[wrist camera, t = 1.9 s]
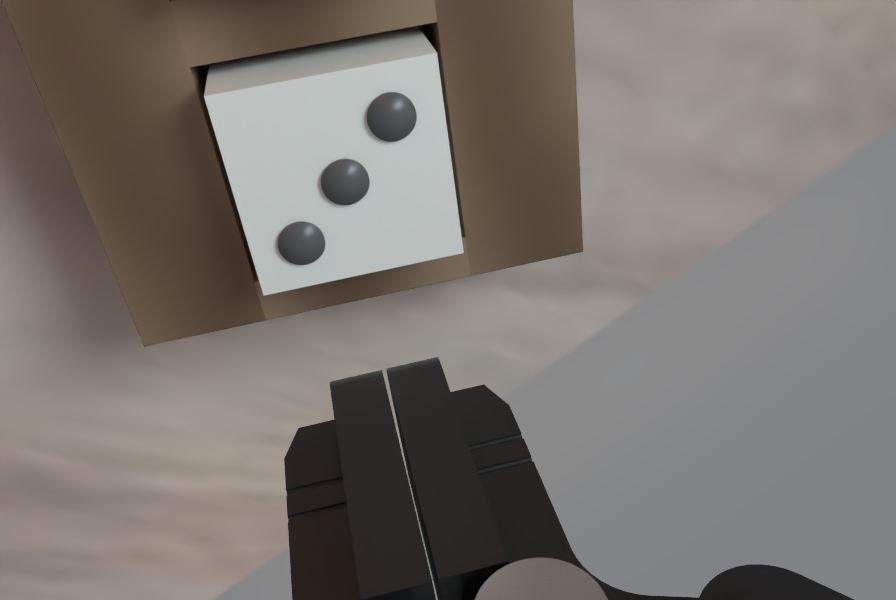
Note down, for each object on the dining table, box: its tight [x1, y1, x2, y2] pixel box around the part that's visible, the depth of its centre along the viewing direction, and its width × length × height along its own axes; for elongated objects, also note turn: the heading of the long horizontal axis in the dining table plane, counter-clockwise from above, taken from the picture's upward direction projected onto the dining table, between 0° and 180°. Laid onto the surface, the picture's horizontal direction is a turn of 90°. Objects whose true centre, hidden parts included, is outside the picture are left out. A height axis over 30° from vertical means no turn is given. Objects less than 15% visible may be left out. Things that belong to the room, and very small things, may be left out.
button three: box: [204, 26, 464, 296], centre depth 20 cm, size 5×5×3 cm
